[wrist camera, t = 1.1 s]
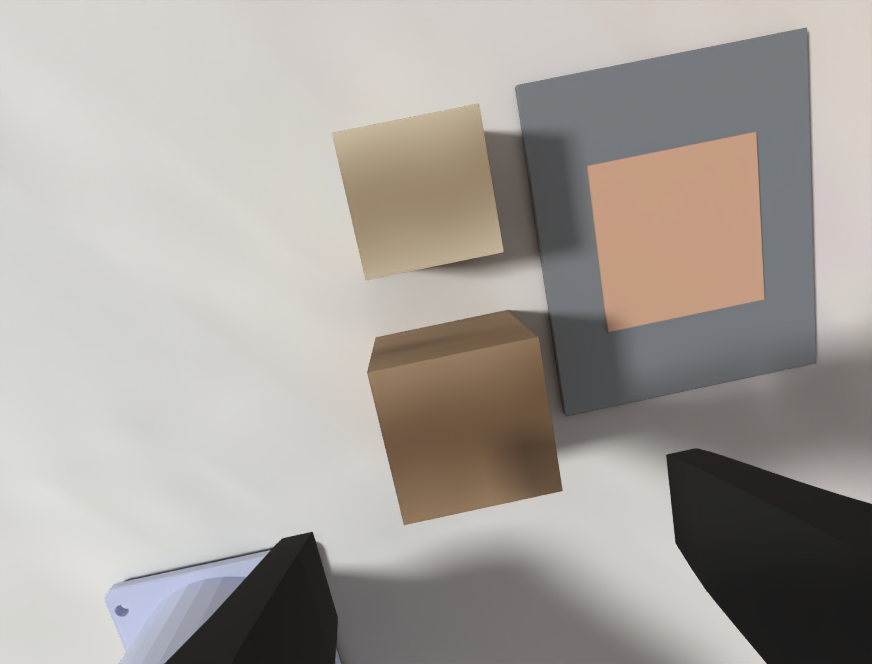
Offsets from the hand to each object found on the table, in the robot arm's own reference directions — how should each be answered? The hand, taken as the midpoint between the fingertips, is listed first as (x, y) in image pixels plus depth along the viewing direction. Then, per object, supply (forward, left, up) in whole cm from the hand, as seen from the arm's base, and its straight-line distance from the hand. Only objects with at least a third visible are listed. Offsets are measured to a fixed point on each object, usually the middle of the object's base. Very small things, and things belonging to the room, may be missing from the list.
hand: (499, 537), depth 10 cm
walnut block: (0, 0, -10) cm, 10 cm away
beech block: (+7, 0, -10) cm, 12 cm away
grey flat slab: (+4, -9, -9) cm, 14 cm away
